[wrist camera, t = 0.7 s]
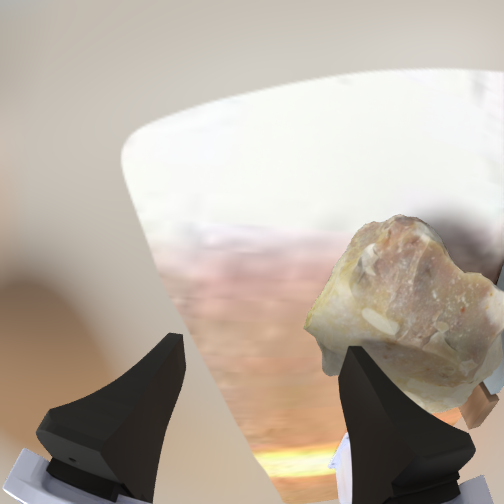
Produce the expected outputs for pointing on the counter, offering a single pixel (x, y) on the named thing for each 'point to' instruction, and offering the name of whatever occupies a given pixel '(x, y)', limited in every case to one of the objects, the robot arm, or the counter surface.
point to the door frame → (478, 406)
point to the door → (500, 375)
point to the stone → (410, 314)
